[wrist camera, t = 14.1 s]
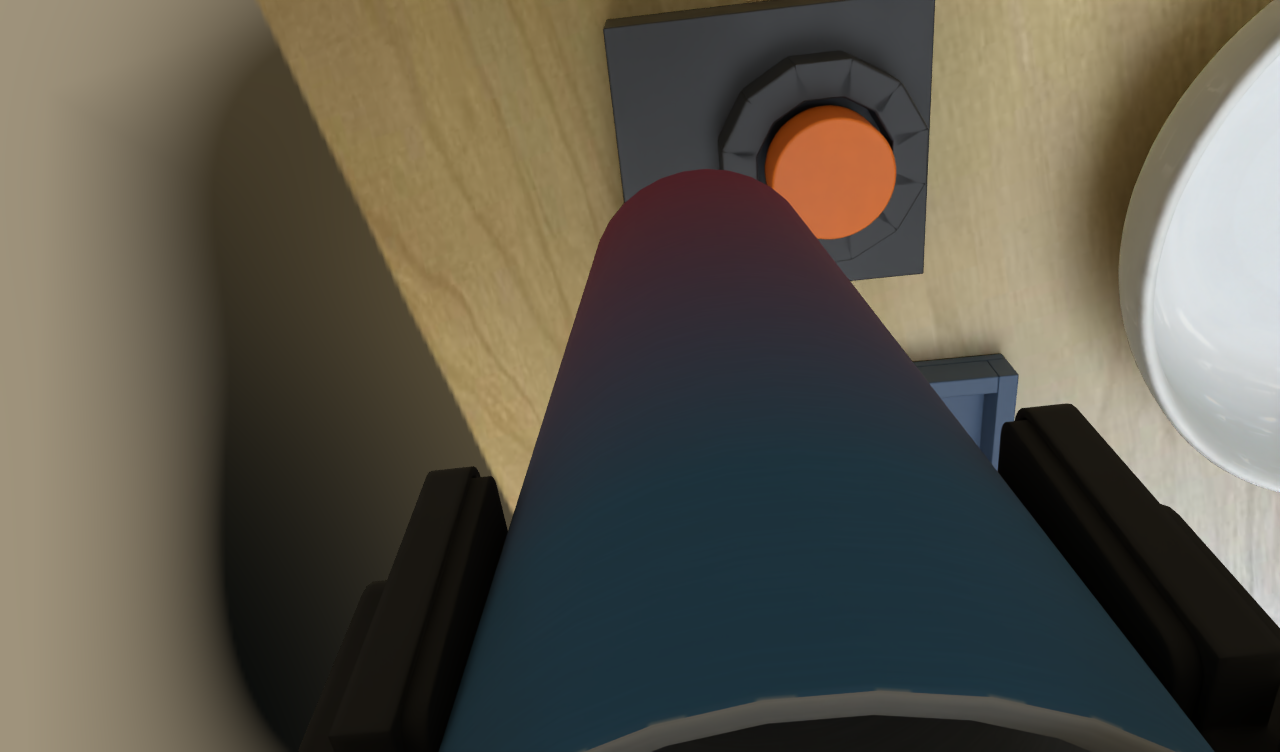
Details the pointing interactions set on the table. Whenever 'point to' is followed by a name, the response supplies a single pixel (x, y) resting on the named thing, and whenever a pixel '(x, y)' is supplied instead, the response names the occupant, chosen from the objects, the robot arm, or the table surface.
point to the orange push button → (832, 170)
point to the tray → (976, 395)
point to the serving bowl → (1214, 258)
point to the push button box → (779, 99)
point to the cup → (775, 530)
